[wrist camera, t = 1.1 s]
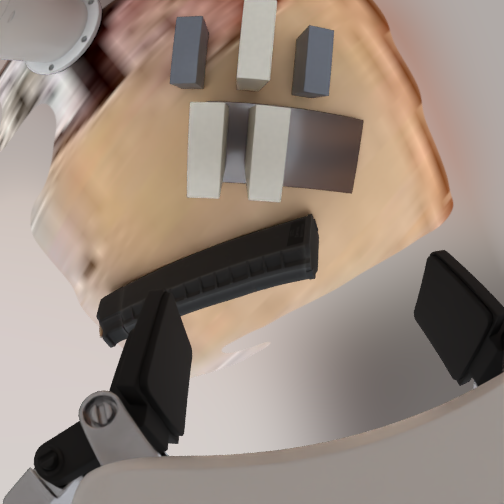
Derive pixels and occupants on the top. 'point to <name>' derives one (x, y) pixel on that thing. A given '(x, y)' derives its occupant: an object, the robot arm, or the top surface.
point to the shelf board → (302, 148)
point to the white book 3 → (266, 152)
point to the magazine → (218, 274)
